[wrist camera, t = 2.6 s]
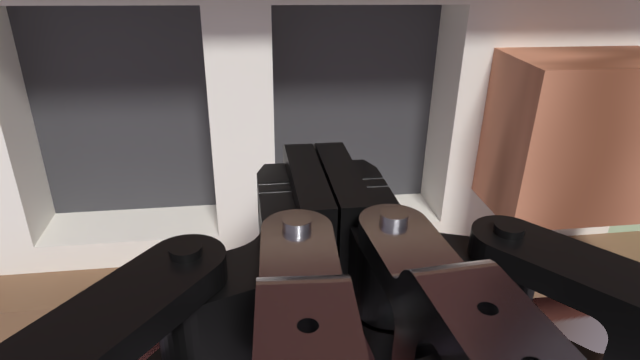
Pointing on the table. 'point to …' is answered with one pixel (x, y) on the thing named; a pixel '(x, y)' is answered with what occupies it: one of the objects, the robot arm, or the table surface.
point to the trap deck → (242, 117)
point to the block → (562, 136)
